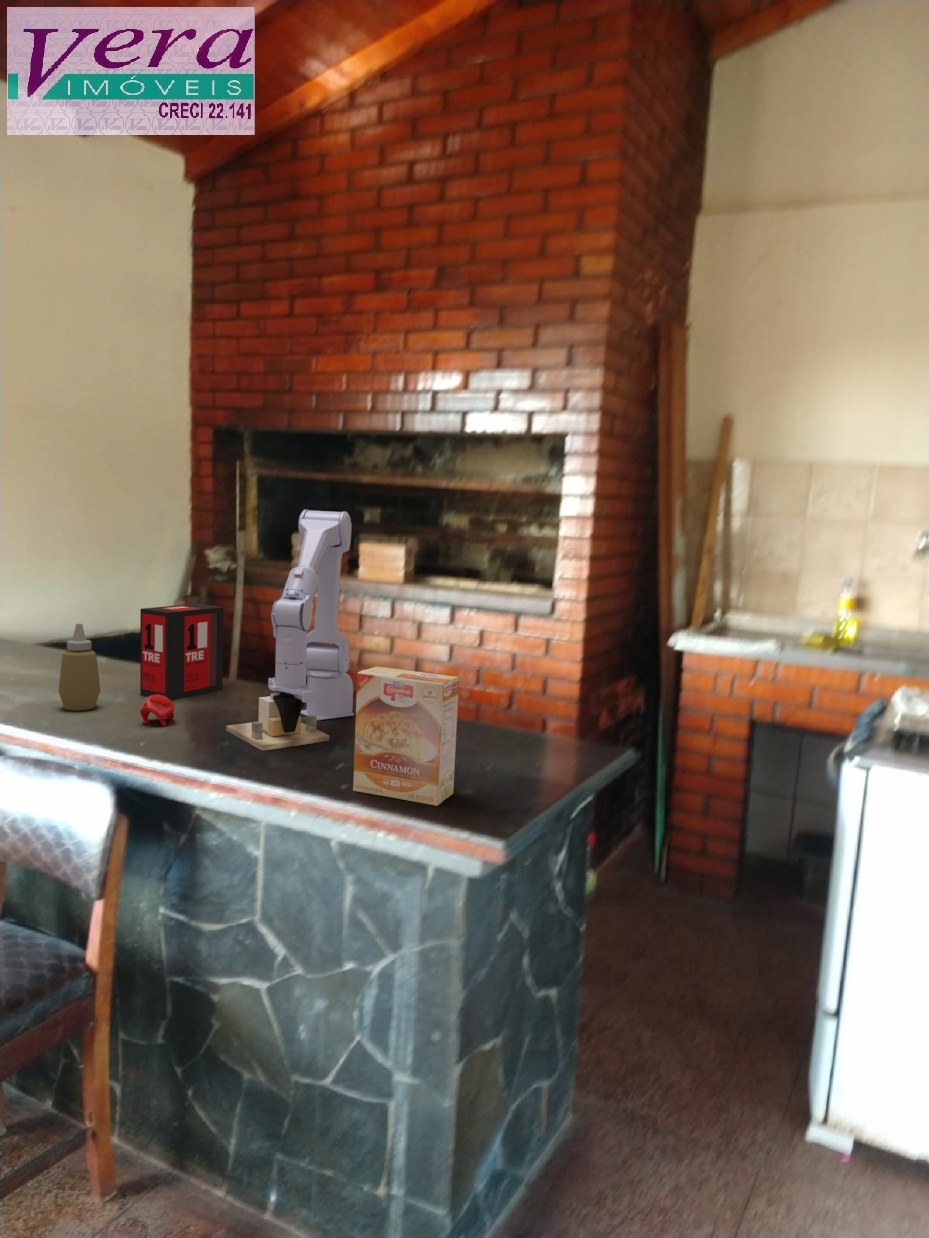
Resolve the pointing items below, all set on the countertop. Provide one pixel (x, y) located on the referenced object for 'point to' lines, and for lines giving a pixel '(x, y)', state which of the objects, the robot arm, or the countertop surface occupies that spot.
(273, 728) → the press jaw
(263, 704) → the block
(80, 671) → the squeeze bottle
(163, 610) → the cleaning product box
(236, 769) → the countertop surface
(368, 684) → the coffeecake box
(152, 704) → the red toy chair
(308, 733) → the press bed
